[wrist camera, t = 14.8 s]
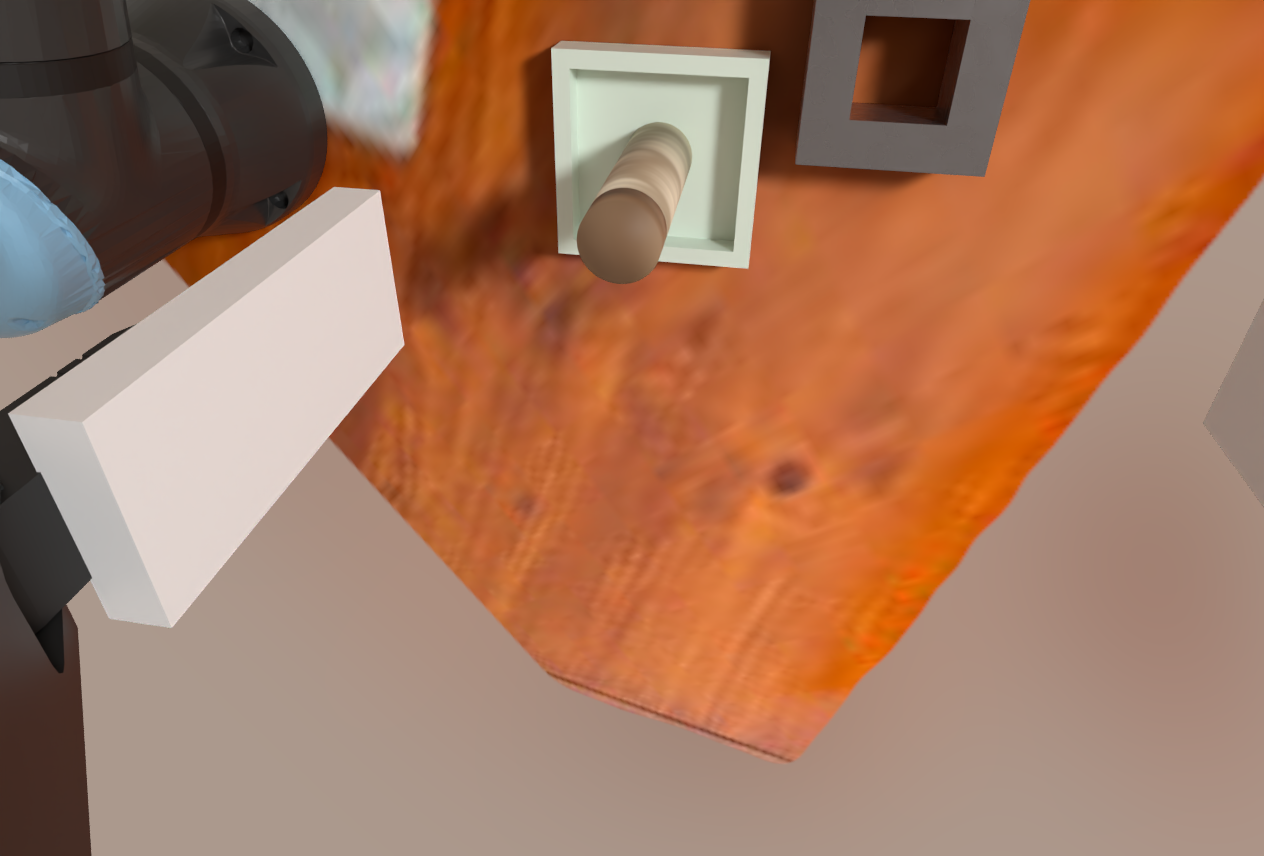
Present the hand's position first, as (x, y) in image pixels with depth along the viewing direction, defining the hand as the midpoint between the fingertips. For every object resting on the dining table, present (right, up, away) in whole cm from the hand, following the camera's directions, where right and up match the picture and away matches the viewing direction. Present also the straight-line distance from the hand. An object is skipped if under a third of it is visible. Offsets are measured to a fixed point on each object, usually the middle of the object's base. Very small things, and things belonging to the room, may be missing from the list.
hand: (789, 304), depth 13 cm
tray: (-1, +15, +38) cm, 40 cm away
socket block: (+12, +18, +33) cm, 39 cm away
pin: (-1, +14, +37) cm, 40 cm away
